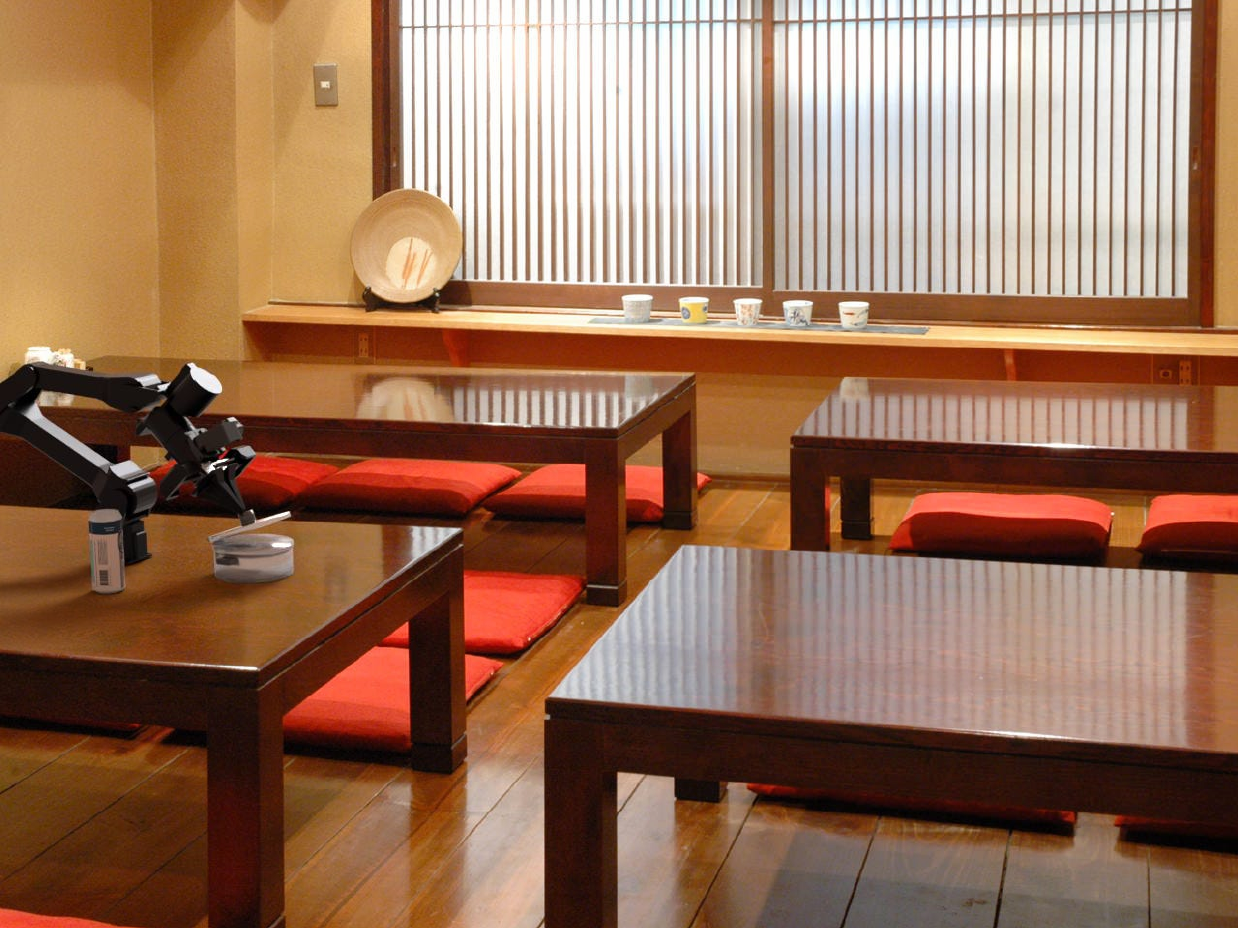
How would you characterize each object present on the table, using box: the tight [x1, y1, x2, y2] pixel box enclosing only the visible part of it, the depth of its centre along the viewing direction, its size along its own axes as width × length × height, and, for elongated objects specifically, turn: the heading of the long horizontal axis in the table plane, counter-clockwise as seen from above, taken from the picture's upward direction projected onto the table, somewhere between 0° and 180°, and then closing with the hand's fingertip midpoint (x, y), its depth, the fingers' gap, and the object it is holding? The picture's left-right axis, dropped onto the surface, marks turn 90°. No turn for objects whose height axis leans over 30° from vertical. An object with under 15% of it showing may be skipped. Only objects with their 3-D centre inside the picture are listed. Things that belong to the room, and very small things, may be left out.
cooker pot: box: [211, 533, 295, 584], centre depth 247 cm, size 12×16×5 cm
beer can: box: [87, 509, 126, 595], centre depth 236 cm, size 5×5×12 cm
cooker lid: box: [206, 509, 292, 543], centre depth 246 cm, size 14×13×3 cm
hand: (242, 511), depth 246 cm, fingers closed, pressing on cooker lid
